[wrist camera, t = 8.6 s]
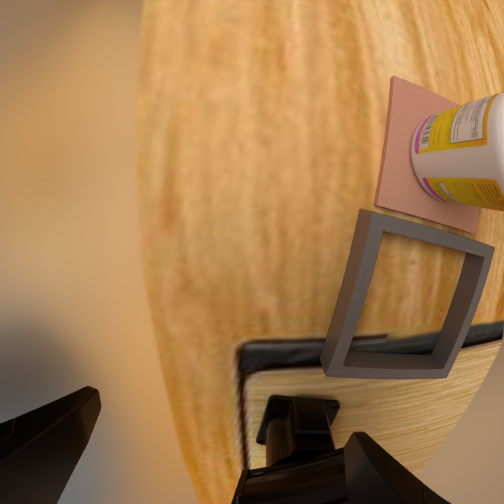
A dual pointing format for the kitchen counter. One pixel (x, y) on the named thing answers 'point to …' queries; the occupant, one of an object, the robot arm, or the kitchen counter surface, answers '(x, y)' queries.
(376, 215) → the frame
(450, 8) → the kitchen counter surface
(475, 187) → the supplement bottle
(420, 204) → the mat
